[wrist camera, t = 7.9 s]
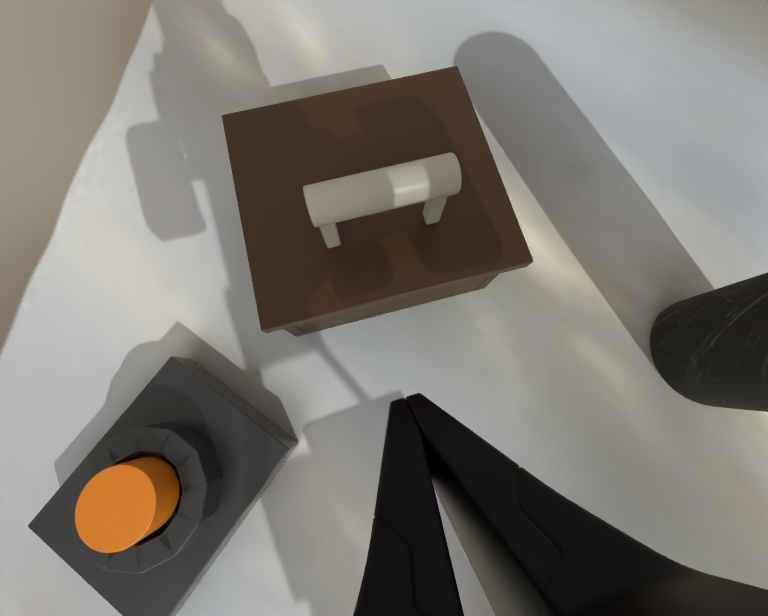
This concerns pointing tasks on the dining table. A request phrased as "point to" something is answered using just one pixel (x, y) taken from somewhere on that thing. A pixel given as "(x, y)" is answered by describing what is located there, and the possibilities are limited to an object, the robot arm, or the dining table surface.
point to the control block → (196, 487)
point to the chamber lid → (368, 197)
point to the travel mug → (717, 346)
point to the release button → (126, 503)
